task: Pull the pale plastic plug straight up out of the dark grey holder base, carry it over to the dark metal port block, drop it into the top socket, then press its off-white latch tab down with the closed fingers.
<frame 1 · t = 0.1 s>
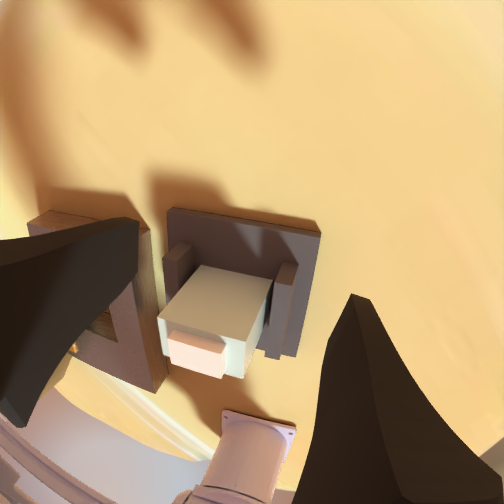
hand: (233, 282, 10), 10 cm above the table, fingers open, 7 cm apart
dark grey holder base: (238, 284, 22), on the table
plug: (234, 290, 22), point 1 cm above the table, touching dark grey holder base
squeeze bottle: (58, 338, 35), on the table
port block: (106, 297, 27), on the table
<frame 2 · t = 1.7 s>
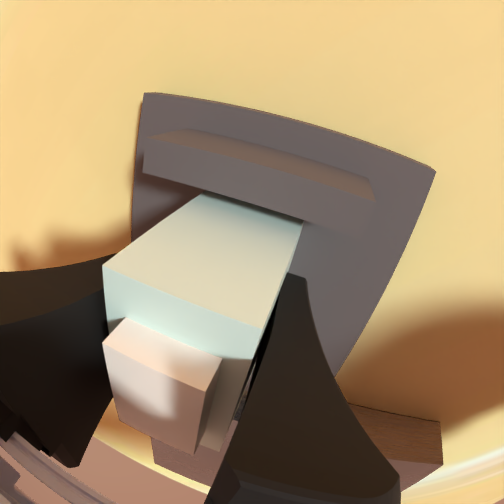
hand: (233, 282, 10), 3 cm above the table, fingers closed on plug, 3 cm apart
dark grey holder base: (254, 248, 12), on the table
plug: (248, 257, 11), point 1 cm above the table, touching gripper, dark grey holder base
port block: (283, 442, 18), on the table
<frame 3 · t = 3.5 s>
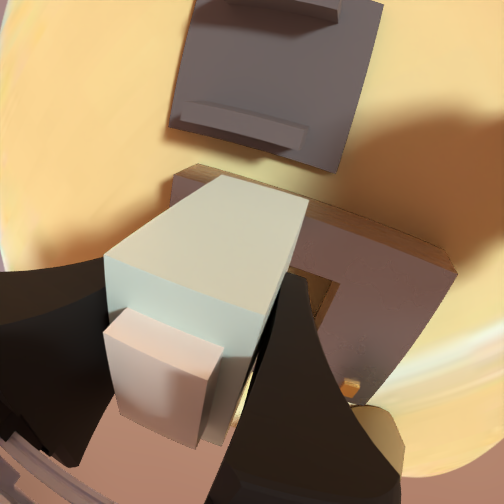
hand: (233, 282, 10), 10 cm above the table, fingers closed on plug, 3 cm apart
dark grey holder base: (271, 61, 15), on the table
plug: (249, 251, 11), point 8 cm above the table, touching gripper
squeeze bottle: (362, 419, 25), on the table
port block: (295, 286, 21), on the table
when the fingers open (3 cm above the table, at t = 5.4 s): plug drops 3 cm, resting in port block.
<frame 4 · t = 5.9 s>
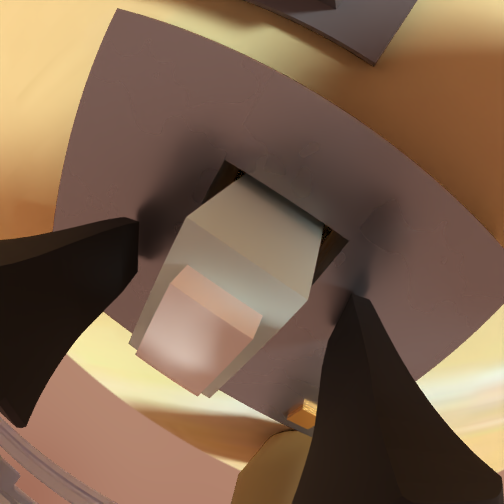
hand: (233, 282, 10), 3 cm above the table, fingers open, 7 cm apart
plug: (260, 234, 13), resting in port block
squeeze bottle: (307, 446, 19), on the table
port block: (260, 238, 13), on the table
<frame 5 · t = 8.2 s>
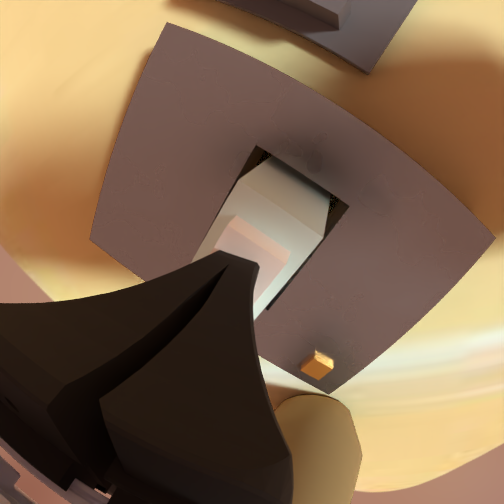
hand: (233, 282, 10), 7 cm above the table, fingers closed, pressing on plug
plug: (277, 209, 16), resting in port block, touching gripper
squeeze bottle: (314, 412, 22), on the table
port block: (277, 212, 16), on the table
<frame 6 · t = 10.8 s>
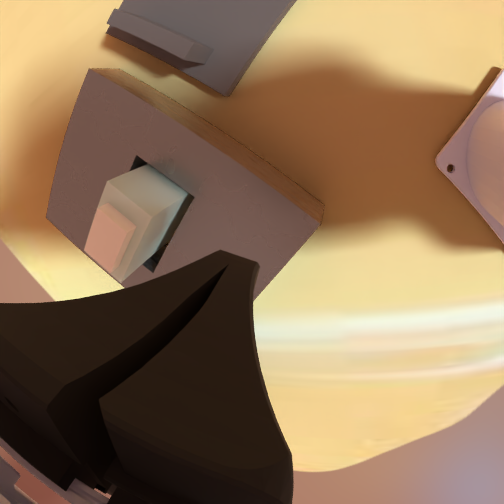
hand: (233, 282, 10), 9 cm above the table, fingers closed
plug: (168, 199, 20), resting in port block
port block: (168, 201, 20), on the table
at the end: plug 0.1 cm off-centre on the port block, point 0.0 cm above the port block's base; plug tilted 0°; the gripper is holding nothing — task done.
